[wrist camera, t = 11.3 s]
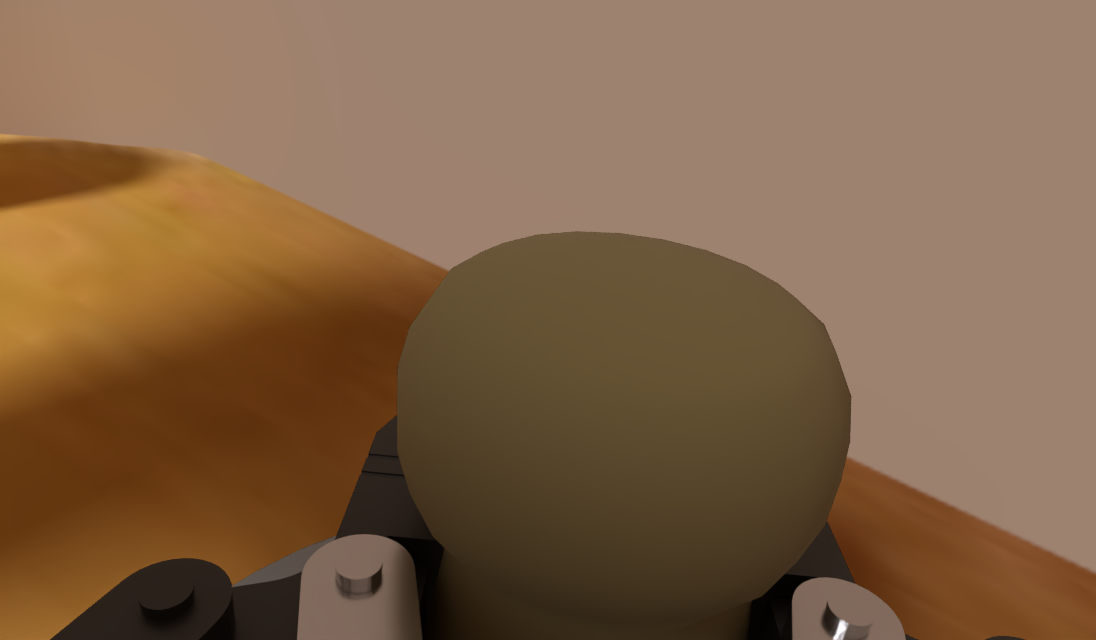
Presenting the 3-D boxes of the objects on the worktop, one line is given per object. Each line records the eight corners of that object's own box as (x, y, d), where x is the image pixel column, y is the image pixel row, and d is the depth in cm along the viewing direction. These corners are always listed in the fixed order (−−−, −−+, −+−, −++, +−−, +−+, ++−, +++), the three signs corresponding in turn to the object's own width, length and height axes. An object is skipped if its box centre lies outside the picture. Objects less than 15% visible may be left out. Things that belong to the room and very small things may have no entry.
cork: (393, 695, 16) (403, 168, 11) (684, 712, 16) (817, 208, 11) (317, 1093, 10) (273, 392, 5) (759, 1105, 11) (1081, 454, 6)
